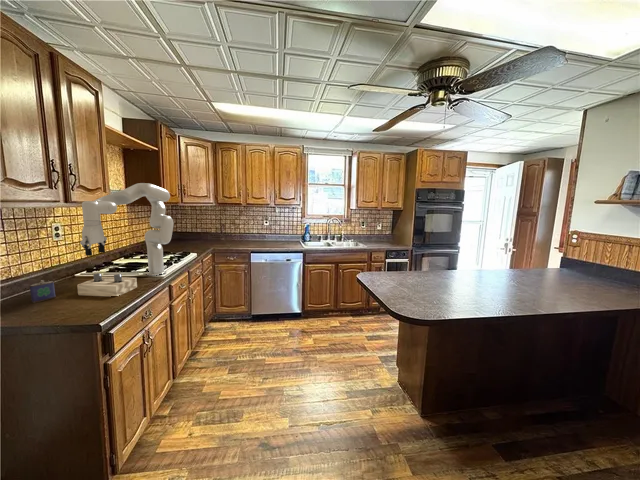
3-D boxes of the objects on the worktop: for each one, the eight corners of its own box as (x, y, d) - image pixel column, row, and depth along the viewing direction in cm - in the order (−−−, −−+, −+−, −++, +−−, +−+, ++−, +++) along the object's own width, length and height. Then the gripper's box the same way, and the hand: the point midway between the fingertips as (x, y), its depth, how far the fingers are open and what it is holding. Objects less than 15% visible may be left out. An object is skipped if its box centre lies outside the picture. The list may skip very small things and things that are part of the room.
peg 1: (97, 282, 160) (97, 273, 159) (103, 282, 160) (103, 273, 159) (92, 284, 157) (91, 274, 156) (98, 284, 156) (97, 275, 156)
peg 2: (117, 283, 160) (117, 273, 159) (123, 283, 160) (123, 274, 159) (113, 284, 156) (112, 275, 155) (119, 285, 156) (118, 275, 155)
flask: (54, 296, 148) (52, 277, 147) (56, 297, 147) (54, 278, 145) (30, 302, 140) (28, 281, 138) (33, 303, 139) (30, 282, 137)
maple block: (102, 285, 167) (101, 276, 166) (137, 287, 166) (136, 277, 165) (78, 295, 151) (77, 284, 150) (116, 296, 151) (116, 286, 150)
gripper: (98, 221, 162) (101, 250, 164) (71, 224, 144) (75, 257, 147) (111, 222, 161) (113, 251, 164) (85, 225, 144) (88, 257, 147)
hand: (95, 253), depth 156 cm, fingers open, 8 cm apart
